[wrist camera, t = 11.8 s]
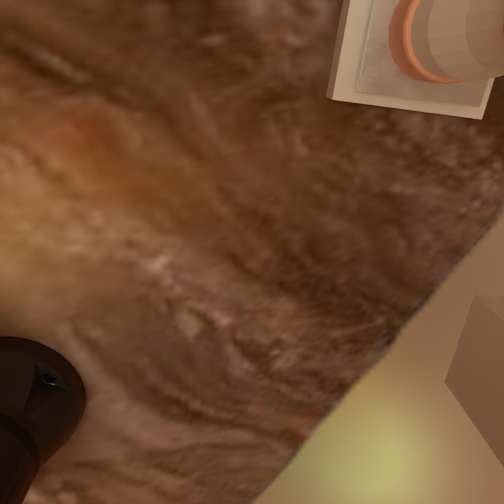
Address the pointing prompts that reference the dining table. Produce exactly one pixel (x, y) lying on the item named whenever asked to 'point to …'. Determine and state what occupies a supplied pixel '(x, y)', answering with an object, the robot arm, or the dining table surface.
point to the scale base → (349, 63)
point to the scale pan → (396, 81)
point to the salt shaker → (448, 39)
